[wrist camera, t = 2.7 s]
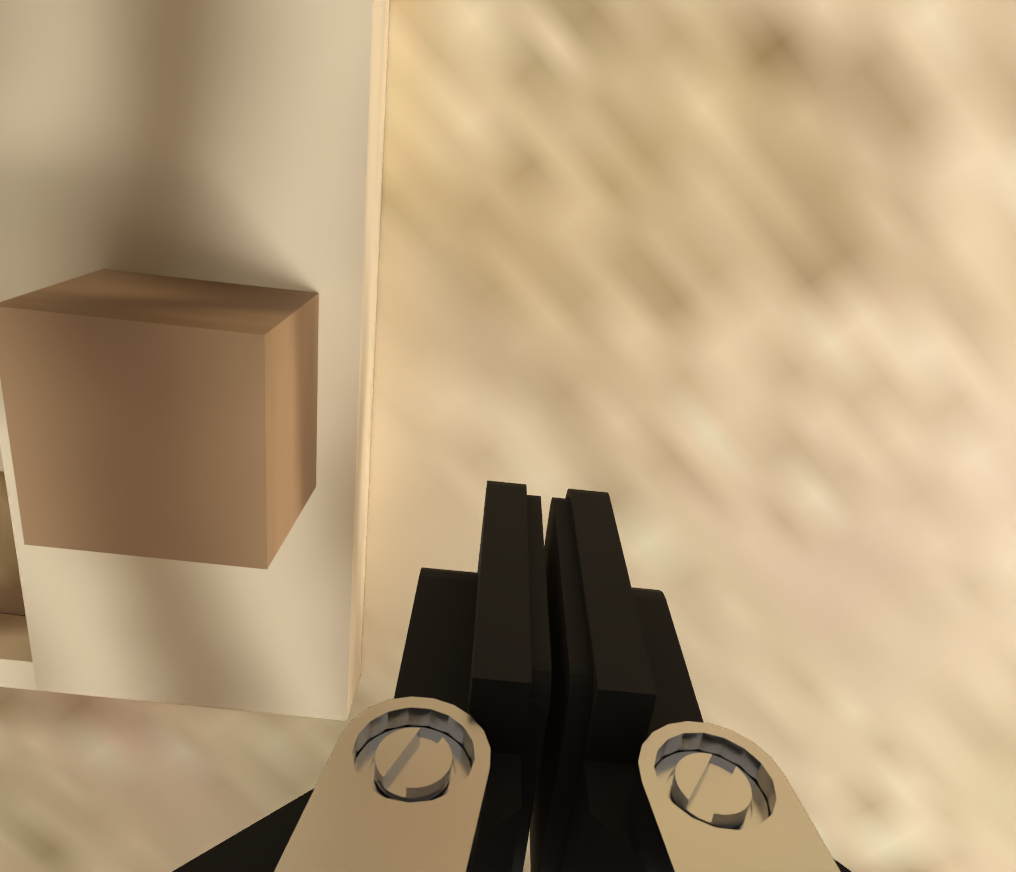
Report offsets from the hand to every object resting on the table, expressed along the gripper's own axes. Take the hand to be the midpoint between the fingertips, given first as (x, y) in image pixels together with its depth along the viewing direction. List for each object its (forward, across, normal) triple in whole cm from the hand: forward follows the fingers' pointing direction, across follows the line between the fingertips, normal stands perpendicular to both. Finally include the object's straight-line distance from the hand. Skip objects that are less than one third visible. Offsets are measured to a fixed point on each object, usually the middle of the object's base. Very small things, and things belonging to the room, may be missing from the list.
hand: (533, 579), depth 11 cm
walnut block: (+8, +8, +1) cm, 11 cm away
